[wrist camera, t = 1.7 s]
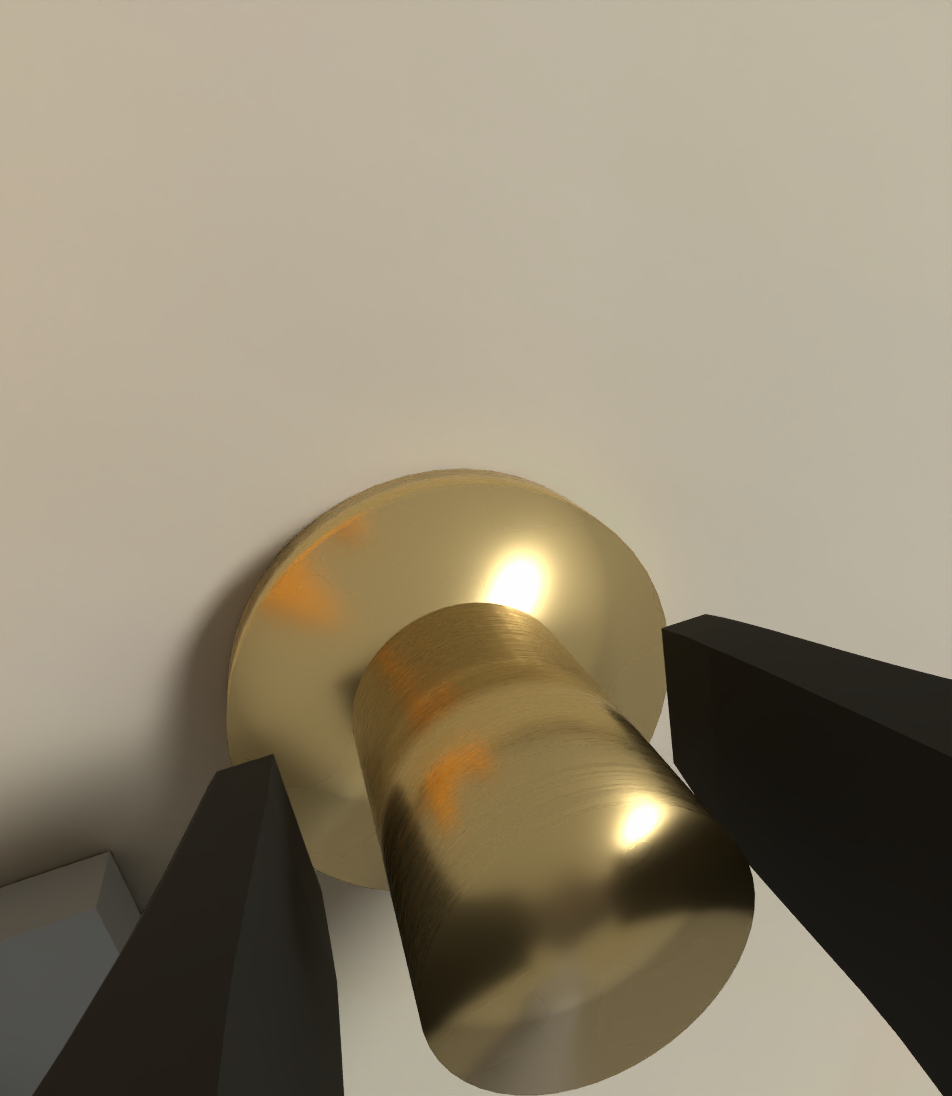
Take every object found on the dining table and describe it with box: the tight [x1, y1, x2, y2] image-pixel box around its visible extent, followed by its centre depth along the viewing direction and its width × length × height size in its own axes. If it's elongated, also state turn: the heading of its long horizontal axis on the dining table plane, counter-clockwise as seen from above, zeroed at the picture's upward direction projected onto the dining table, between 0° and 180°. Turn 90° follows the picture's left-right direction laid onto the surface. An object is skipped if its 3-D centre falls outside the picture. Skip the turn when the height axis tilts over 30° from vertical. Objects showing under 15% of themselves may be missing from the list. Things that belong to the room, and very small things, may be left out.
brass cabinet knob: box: [226, 469, 755, 1095], centre depth 8 cm, size 6×6×5 cm
